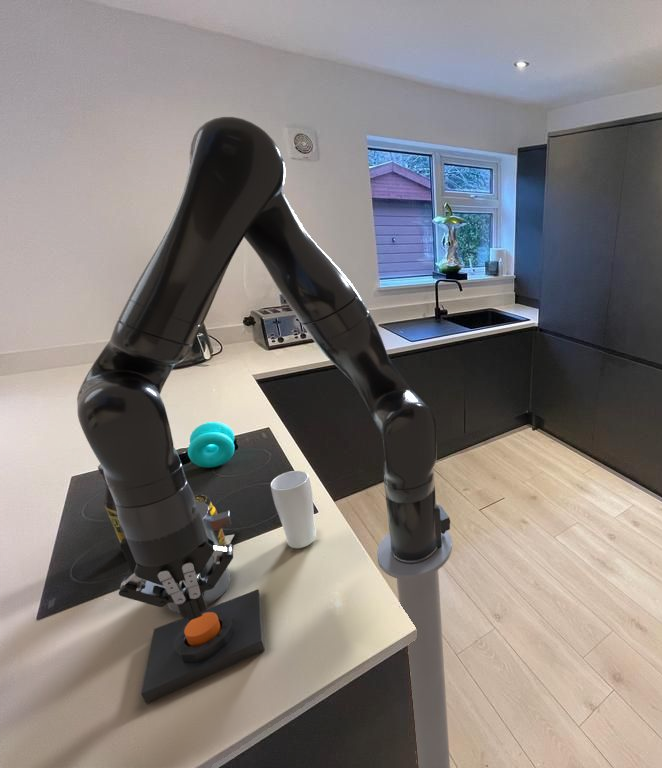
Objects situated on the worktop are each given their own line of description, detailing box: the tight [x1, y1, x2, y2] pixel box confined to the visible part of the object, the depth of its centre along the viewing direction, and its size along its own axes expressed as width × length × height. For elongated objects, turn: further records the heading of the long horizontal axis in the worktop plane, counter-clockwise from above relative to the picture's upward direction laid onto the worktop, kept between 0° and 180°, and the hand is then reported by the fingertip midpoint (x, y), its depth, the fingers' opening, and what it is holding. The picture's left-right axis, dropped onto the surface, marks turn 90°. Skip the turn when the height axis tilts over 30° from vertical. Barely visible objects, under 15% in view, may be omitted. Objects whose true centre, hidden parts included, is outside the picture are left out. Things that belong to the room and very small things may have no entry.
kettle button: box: [184, 612, 221, 646], centre depth 60 cm, size 4×4×2 cm
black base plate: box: [140, 589, 266, 705], centre depth 61 cm, size 14×11×4 cm
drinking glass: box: [269, 470, 317, 549], centre depth 80 cm, size 7×7×15 cm
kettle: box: [119, 501, 233, 614], centre depth 68 cm, size 14×9×17 cm, turn 123°
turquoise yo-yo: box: [187, 421, 235, 468], centre depth 109 cm, size 10×10×10 cm
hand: (196, 613), depth 58 cm, fingers closed
